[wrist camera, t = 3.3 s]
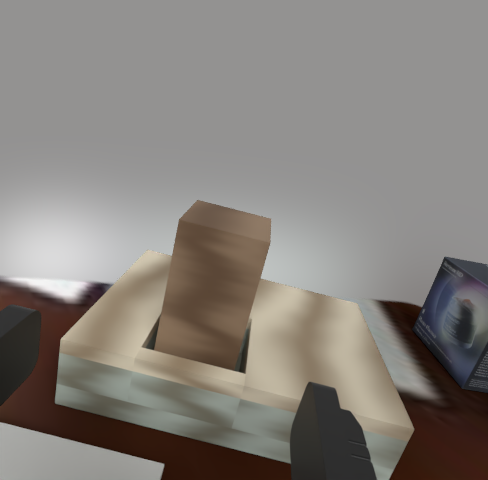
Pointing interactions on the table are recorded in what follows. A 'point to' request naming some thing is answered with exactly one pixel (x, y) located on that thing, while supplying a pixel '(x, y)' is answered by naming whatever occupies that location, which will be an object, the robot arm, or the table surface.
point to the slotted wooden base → (227, 381)
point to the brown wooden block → (212, 283)
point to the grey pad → (66, 459)
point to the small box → (458, 322)
